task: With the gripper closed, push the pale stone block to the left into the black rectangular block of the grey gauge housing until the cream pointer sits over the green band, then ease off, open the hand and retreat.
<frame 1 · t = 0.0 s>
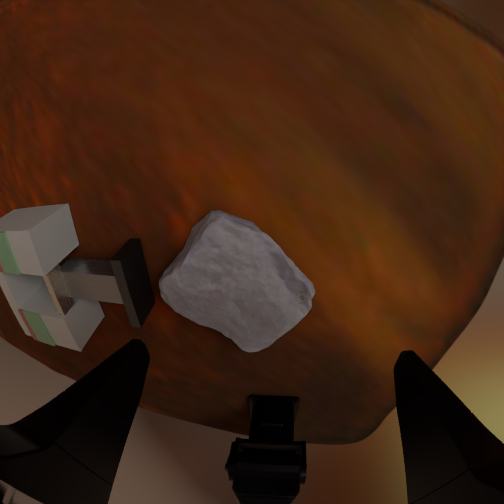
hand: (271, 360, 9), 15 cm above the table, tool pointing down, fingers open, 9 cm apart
stone block: (244, 271, 26), on the table
black rectangular block: (96, 284, 24), point 3 cm above the table, slide at 0.0 cm
gauge housing: (55, 263, 28), on the table
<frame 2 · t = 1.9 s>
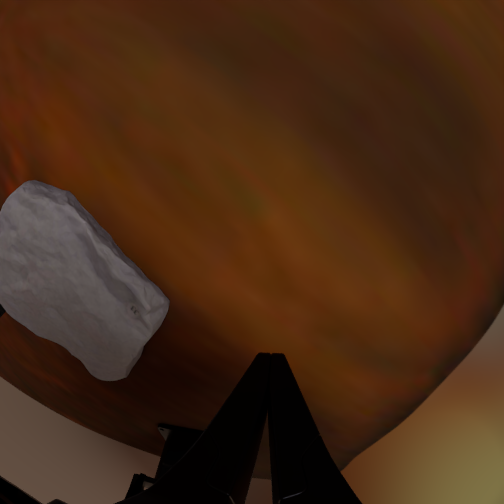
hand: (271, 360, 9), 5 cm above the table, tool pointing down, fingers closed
stone block: (86, 266, 16), on the table
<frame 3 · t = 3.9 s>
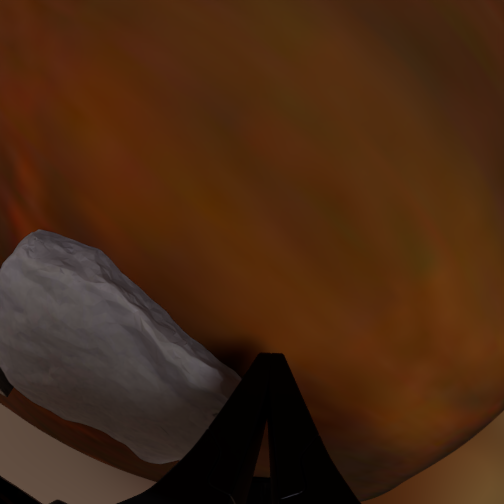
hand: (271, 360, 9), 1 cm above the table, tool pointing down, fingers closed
stone block: (125, 340, 12), on the table, touching gripper
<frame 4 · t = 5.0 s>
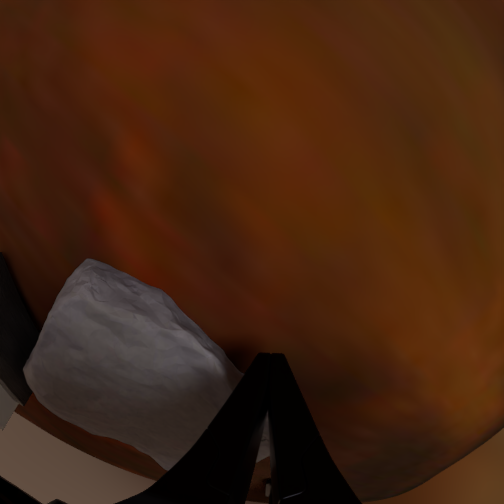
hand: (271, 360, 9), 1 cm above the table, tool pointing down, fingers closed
stone block: (164, 363, 13), on the table
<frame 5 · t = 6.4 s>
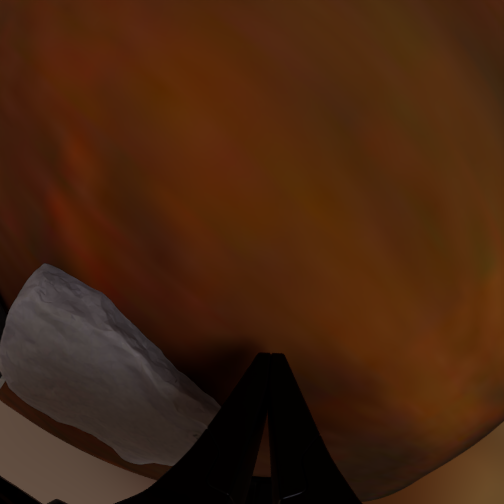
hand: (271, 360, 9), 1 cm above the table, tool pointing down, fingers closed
stone block: (118, 360, 13), on the table
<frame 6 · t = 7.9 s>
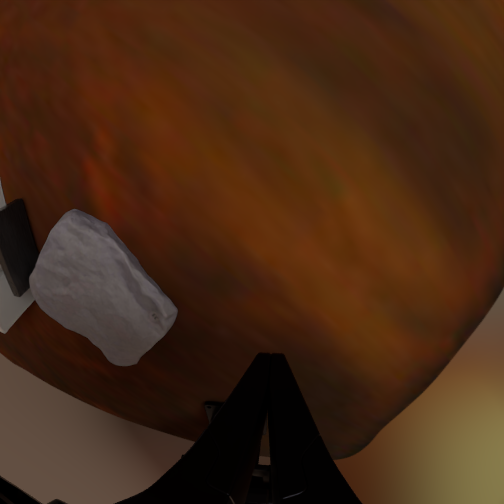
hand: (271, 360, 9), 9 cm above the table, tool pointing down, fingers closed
stone block: (112, 277, 21), on the table
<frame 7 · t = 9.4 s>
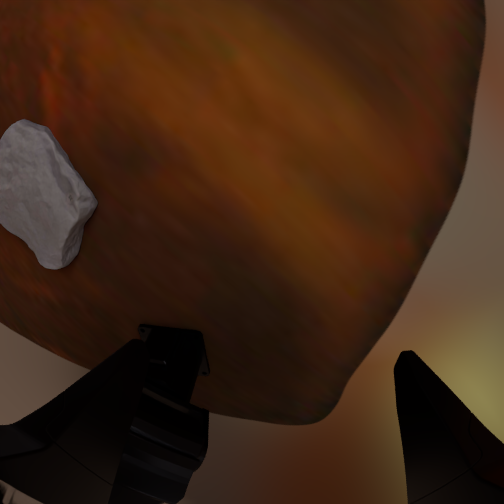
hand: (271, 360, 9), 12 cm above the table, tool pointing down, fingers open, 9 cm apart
stone block: (51, 182, 20), on the table
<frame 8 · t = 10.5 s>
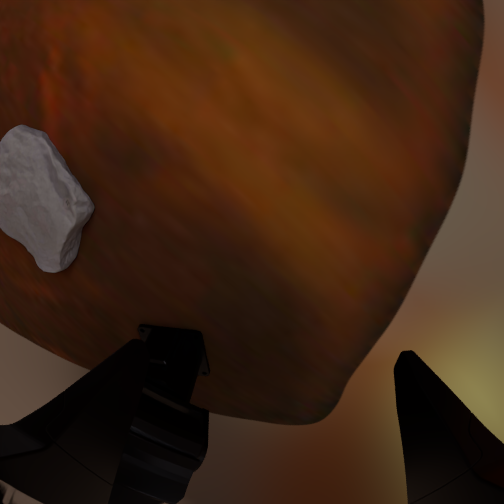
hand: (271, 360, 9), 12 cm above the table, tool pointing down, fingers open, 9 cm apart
stone block: (49, 186, 21), on the table
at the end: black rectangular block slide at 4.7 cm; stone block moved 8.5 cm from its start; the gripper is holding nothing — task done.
